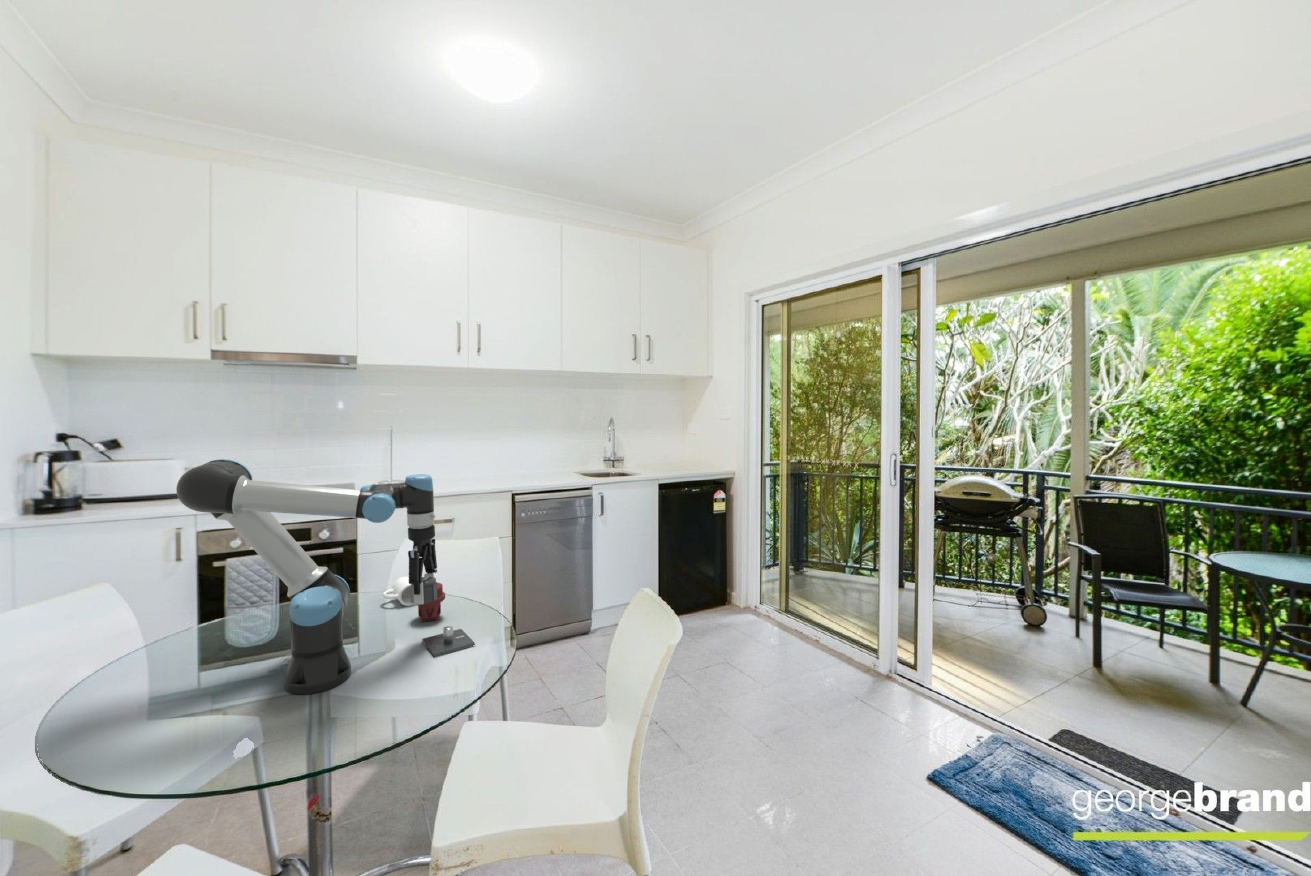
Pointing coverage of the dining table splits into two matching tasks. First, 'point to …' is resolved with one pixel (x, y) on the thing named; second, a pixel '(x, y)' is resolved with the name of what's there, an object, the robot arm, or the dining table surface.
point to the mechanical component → (432, 606)
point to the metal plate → (447, 641)
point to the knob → (427, 589)
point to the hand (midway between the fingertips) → (424, 598)
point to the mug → (400, 591)
